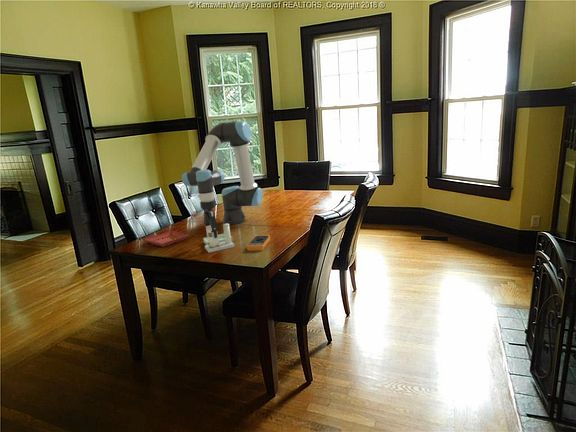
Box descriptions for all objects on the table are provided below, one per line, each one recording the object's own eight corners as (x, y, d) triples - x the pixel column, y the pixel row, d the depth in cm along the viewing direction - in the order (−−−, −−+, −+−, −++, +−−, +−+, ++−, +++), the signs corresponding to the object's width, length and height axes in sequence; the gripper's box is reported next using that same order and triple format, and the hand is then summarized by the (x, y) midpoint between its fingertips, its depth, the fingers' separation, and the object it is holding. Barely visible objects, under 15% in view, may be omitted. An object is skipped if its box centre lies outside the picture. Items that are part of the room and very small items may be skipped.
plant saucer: (172, 235, 231) (171, 230, 231) (189, 239, 220) (189, 234, 219) (145, 244, 218) (144, 239, 217) (162, 249, 207) (161, 243, 206)
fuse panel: (230, 242, 206) (229, 239, 206) (234, 246, 199) (234, 243, 199) (205, 248, 201) (204, 245, 200) (208, 252, 194) (208, 249, 193)
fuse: (230, 244, 204) (228, 223, 201) (232, 245, 201) (229, 224, 198) (224, 245, 203) (222, 224, 200) (226, 247, 200) (223, 225, 197)
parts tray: (227, 237, 217) (227, 233, 216) (233, 241, 208) (232, 237, 207) (203, 242, 211) (203, 238, 210) (208, 247, 202) (207, 242, 202)
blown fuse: (217, 247, 201) (213, 225, 198) (219, 249, 198) (216, 227, 195) (209, 248, 200) (206, 227, 197) (211, 250, 196) (208, 229, 193)
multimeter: (271, 240, 206) (270, 234, 205) (262, 251, 189) (262, 245, 188) (256, 240, 208) (255, 234, 207) (246, 251, 191) (246, 245, 190)
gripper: (194, 198, 201) (200, 236, 207) (205, 205, 180) (211, 248, 185) (208, 195, 204) (213, 233, 210) (220, 203, 183) (226, 244, 188)
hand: (213, 240), depth 197 cm, fingers open, 12 cm apart
